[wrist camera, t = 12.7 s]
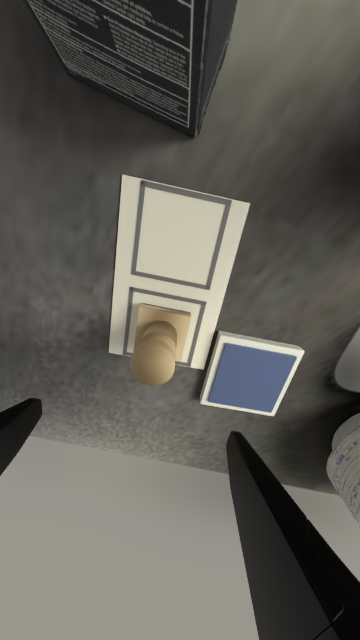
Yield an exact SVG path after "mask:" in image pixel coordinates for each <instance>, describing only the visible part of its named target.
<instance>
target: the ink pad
mask: <svg viewBox="0 0 360 640" xmlns="http://www.w3.org/2000/svg"><path fill="white" fill-rule="evenodd" d="M304 352H305V351H304V350H303V349H301V348H300V347H299V346H296V345H291V344H286V343H281V342H276V341H270V340H265V339H260V338H255V337H249V336H244V335H239V334H234V333H228V332H223V331H219V332H218V335H217V339H216V342H215V346H214V349H213V352H212V356H211V359H210V363H209V366H208V370H207V373H206V377H205V380H204V384H203V387H202V391H201V394H200V403H201V404H205V405H211V406H216V407H222V408H228V409H234V410H240V411H246V412H252V413H257V414H263V415H269V416H274V415H275V413H276V410H277V408H278V406H279V404H280V402H281V400H282V398H283V396H284V394H285V392H286V389H287V387H288V385H289V383H290V381H291V379H292V377H293V375H294V373H295V371H296V368H297V366H298V364H299V362H300V360H301V358H302V356H303V354H304Z"/></svg>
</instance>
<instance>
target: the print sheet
mask: <svg viewBox="0 0 360 640" xmlns="http://www.w3.org/2000/svg"><path fill="white" fill-rule="evenodd" d="M249 206H250V203H246V202H242V201H237V200H233V199H229V198H224V197H220V196H215V195H211V194H206V193H202V192H198V191H193V190H189V189H184V188H180V187H176V186H171V185H167V184H162V183H158V182H153V181H149V180H145V179H140V178H136V177H131V176H127V175H122V185H121V198H120V211H119V224H118V237H117V250H116V263H115V276H114V289H113V302H112V316H111V329H110V342H109V353H114V354H119V355H125V356H130V357H132V356H133V354H134V353H133V350H134V342H135V335H136V327H137V319H138V311H139V306H140V305H141V304H142V303H146V304H151V305H156V306H161V307H166V308H171V309H176V310H182V311H187V312H190V313H191V319H190V324H189V328H188V333H187V337H186V341H185V346H184V350H183V354H182V359H181V362H179V361H175V365H180V366H186V367H191V368H197V369H203V370H204V366H205V363H206V359H207V356H208V352H209V349H210V345H211V342H212V338H213V334H214V331H215V327H216V324H217V320H218V317H219V313H220V309H221V306H222V302H223V299H224V295H225V292H226V288H227V284H228V281H229V277H230V274H231V270H232V267H233V263H234V260H235V256H236V252H237V249H238V245H239V242H240V238H241V235H242V231H243V227H244V224H245V220H246V217H247V213H248V210H249Z"/></svg>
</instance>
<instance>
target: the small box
mask: <svg viewBox="0 0 360 640" xmlns="http://www.w3.org/2000/svg"><path fill="white" fill-rule="evenodd" d="M23 1H24V3H25V4H26V6H27V8H28V9H29V10H30V12H31V13H32V15H33V17H34V19H35V20H36V22H37V24H38V26H39V27H40V29H41V30H42V32H43V33H44V35H45V36H46V38H47V40H48V42H49V43H50V45H51V47H52V48H53V50H54V52H55V54H56V55H57V57H58V58H59V60H60V62H61V63H62V65H63V67H64V69H65V71H66V72H67V74H68V75H70V76H72V77H74V78H76V79H78V80H80V81H82V82H84V83H86V84H88V85H90V86H92V87H94V88H96V89H98V90H100V91H102V92H104V93H106V94H108V95H110V96H111V97H114V98H116V99H118V100H120V101H122V102H123V103H126V104H128V105H130V106H132V107H134V108H136V109H138V110H140V111H142V112H144V113H146V114H148V115H149V116H152V117H154V118H155V119H157V120H160V121H162V122H164V123H166V124H167V125H169V126H172V127H173V128H176V129H178V130H180V131H182V132H184V133H186V134H188V135H190V136H192V137H193V138H195V137H196V136H197V135H198V134H199V133H200V129H201V125H202V120H203V117H204V115H205V113H206V108H207V106H208V103H209V99H210V97H211V93H212V90H213V87H214V86H215V83H216V79H217V76H218V73H219V71H220V70H221V67H222V64H223V61H224V57H225V53H226V50H227V45H228V43H229V40H230V35H231V29H232V24H233V20H234V14H235V10H236V4H237V0H23Z"/></svg>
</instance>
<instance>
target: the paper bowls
mask: <svg viewBox="0 0 360 640" xmlns="http://www.w3.org/2000/svg"><path fill="white" fill-rule="evenodd" d="M326 470H327V474H328V477H329V479H330V480H331V482H332V484H333V485H334V487H335V489H336V491H337V492H338V493H339V495H340V497H341V498H342V499H343V501H344V502H345V504H346V506H347V507H348V509H349V510H350V512H351V513H352V515H353V517H354V518H355V520H356V521H357V522H358V524H359V526H360V413H358V414H356V415H354V416H352V417H350V418H349V419H348V420H346V421H345V422H344V423H343V424H342V425H341V426H340V427H339V428H338V429H337V431H336V432H335V434H334V437H333V440H332V452H331V454H330V456H329V458H328V461H327V467H326Z"/></svg>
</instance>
